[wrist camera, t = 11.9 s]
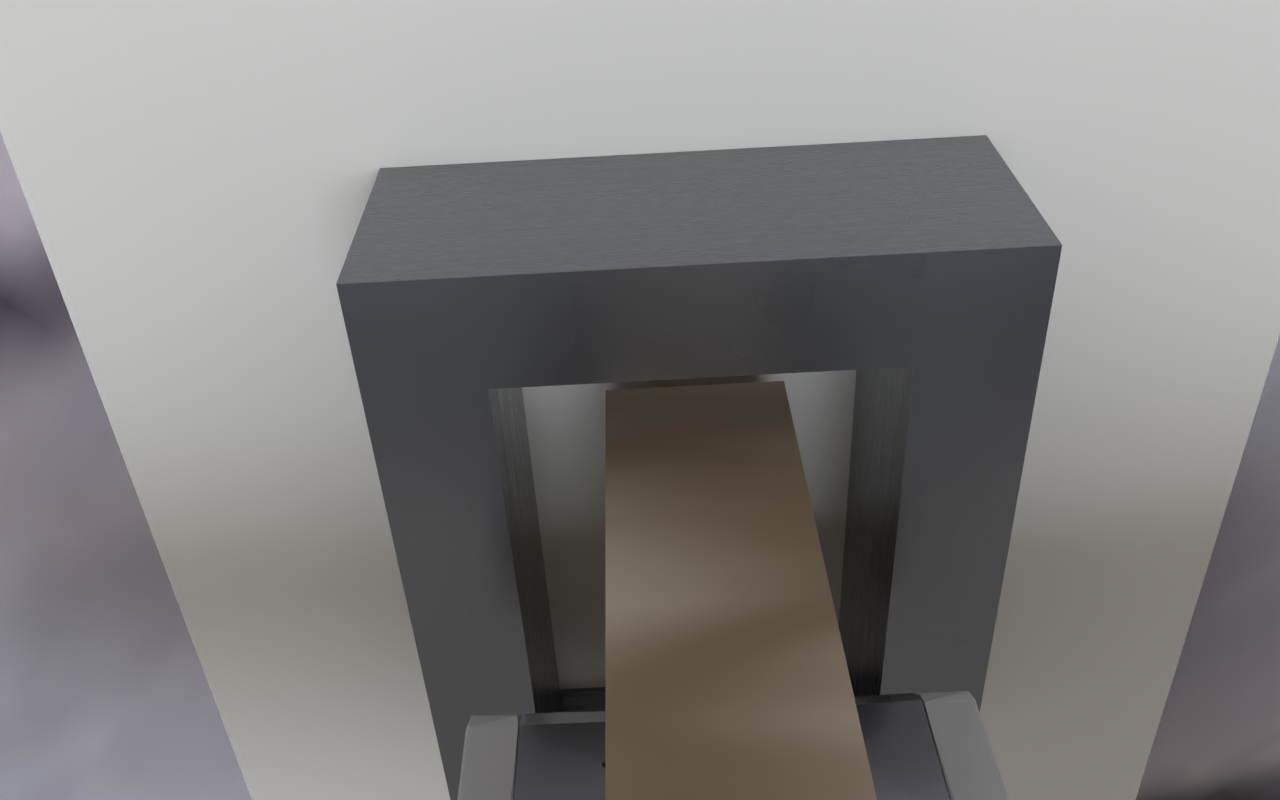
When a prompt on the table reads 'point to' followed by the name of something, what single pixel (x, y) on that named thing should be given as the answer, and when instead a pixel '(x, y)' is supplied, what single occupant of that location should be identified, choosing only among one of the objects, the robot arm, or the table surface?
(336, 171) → the plate
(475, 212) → the frame
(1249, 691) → the table surface
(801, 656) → the wooden block
